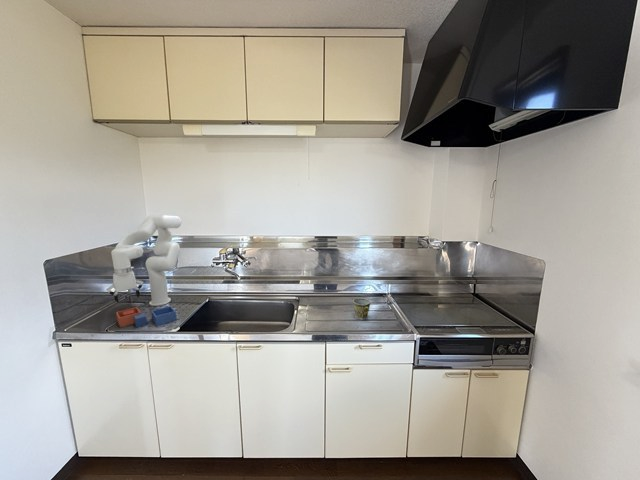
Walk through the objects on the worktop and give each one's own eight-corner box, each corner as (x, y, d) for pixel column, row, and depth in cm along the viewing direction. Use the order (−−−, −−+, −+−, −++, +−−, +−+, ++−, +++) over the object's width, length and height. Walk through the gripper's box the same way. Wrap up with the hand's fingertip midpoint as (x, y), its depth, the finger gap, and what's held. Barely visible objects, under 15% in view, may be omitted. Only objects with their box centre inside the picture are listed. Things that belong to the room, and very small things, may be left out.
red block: (123, 320, 156) (122, 312, 155) (133, 317, 159) (132, 309, 158) (125, 323, 152) (123, 315, 151) (135, 320, 155) (134, 312, 154)
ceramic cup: (349, 315, 163) (350, 299, 161) (364, 312, 166) (364, 297, 165) (360, 324, 151) (361, 308, 149) (376, 321, 154) (376, 305, 153)
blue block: (134, 324, 152) (133, 316, 151) (145, 321, 155) (144, 313, 154) (136, 327, 148) (135, 319, 147) (147, 324, 152) (146, 316, 151)
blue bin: (152, 319, 157) (151, 310, 156) (171, 314, 164) (170, 305, 163) (156, 325, 150) (155, 316, 149) (176, 320, 157) (175, 311, 156)
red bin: (117, 321, 156) (116, 312, 155) (138, 315, 163) (137, 306, 162) (120, 327, 148) (118, 318, 147) (141, 321, 155) (140, 312, 154)
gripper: (139, 265, 159) (144, 292, 163) (102, 272, 147) (108, 301, 151) (142, 268, 153) (146, 296, 157) (104, 275, 142) (109, 306, 146)
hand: (127, 299), depth 154 cm, fingers open, 9 cm apart
